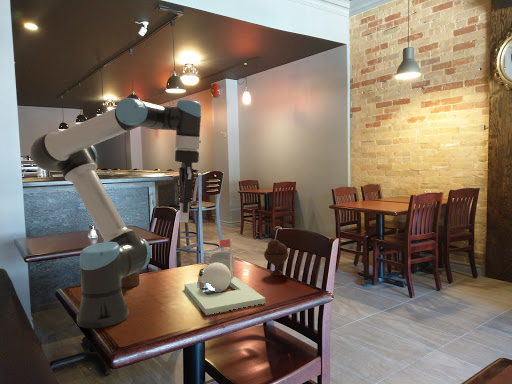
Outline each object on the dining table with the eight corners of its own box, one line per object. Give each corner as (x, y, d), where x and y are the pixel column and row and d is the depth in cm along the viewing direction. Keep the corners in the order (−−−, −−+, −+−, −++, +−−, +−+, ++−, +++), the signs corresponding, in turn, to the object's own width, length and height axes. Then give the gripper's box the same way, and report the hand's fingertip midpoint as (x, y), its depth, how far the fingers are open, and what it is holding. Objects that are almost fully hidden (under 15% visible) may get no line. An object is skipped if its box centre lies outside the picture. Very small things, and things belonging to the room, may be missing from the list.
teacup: (238, 270, 170) (237, 252, 169) (226, 276, 160) (225, 258, 160) (212, 267, 176) (211, 250, 175) (199, 273, 166) (198, 255, 165)
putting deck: (265, 303, 127) (264, 251, 126) (206, 315, 119) (204, 259, 118) (235, 281, 153) (233, 238, 152) (184, 289, 145) (182, 243, 143)
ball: (212, 252, 144) (208, 273, 149) (198, 269, 135) (195, 291, 140) (237, 263, 141) (233, 284, 147) (225, 281, 132) (221, 303, 138)
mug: (143, 289, 146) (142, 265, 145) (122, 292, 143) (121, 268, 142) (138, 281, 157) (137, 259, 156) (119, 284, 153) (117, 261, 153)
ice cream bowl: (263, 277, 158) (262, 242, 157) (266, 270, 169) (265, 237, 168) (288, 277, 156) (287, 242, 155) (289, 270, 167) (288, 237, 166)
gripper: (203, 151, 115) (199, 226, 118) (194, 150, 127) (191, 217, 130) (178, 149, 112) (175, 226, 115) (172, 148, 124) (169, 218, 127)
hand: (183, 221), depth 123 cm, fingers closed
